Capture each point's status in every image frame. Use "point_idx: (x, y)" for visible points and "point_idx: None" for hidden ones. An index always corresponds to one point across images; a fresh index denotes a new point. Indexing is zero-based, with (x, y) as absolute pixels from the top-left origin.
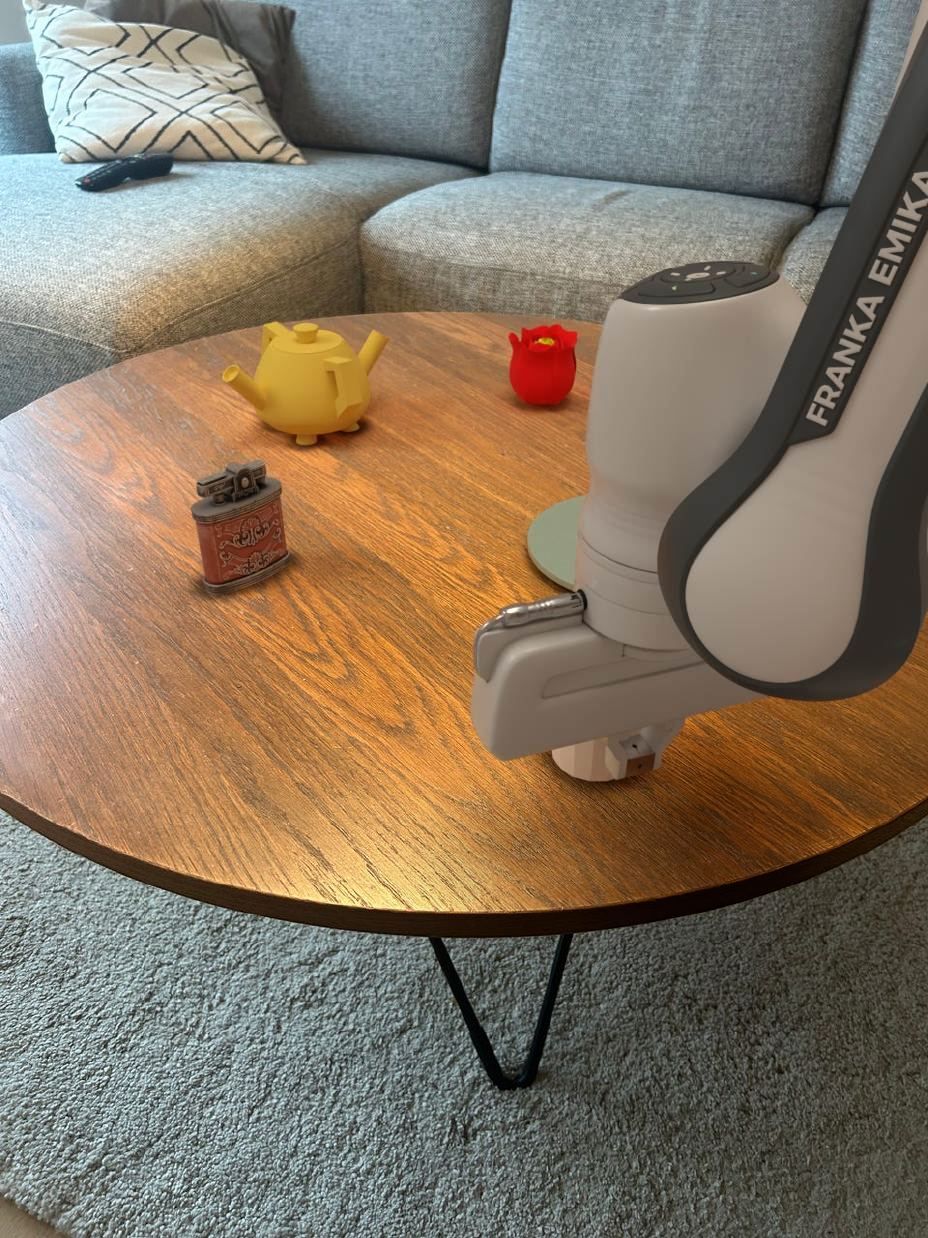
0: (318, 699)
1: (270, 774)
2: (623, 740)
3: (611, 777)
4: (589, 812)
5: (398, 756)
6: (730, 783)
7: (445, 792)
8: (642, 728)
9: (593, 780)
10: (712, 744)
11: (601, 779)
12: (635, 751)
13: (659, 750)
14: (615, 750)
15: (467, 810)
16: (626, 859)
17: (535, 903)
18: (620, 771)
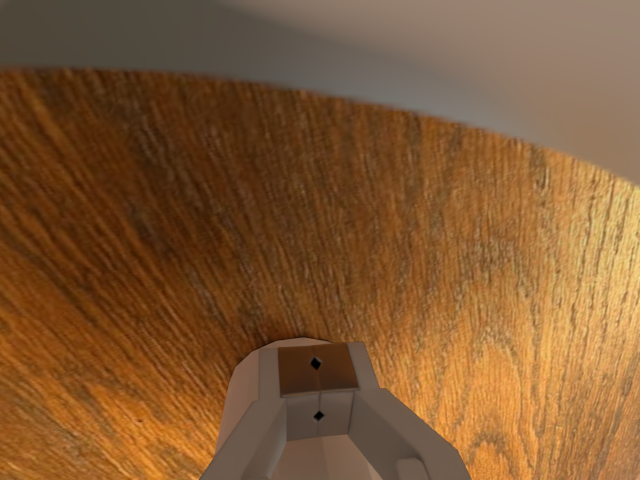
0: (529, 475)
1: (635, 407)
2: (408, 460)
3: (296, 342)
4: (363, 292)
5: (517, 410)
6: (82, 290)
7: (511, 360)
8: (232, 429)
9: (325, 342)
10: (84, 368)
11: (313, 341)
12: (327, 405)
13: (270, 400)
14: (416, 425)
15: (509, 331)
16: (365, 189)
17: (554, 154)
18: (367, 360)
